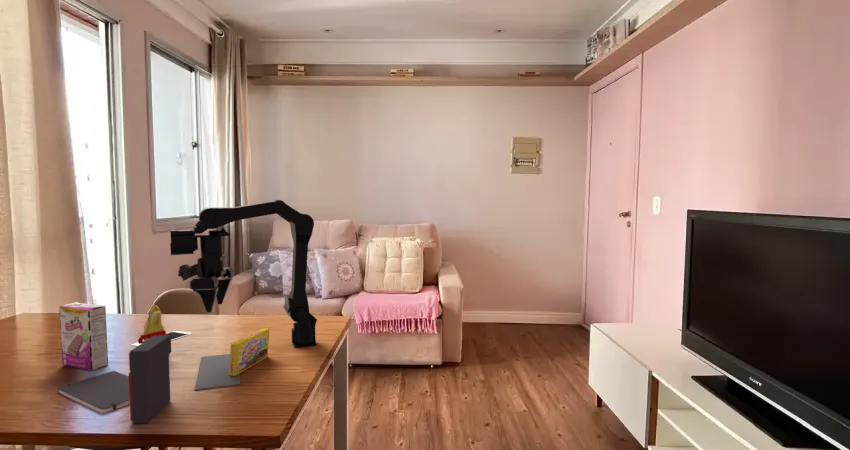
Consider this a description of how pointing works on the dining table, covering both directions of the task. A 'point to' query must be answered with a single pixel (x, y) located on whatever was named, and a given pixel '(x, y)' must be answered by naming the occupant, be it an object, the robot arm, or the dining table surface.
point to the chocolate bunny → (153, 325)
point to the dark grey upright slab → (149, 378)
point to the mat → (215, 373)
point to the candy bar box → (83, 335)
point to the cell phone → (173, 335)
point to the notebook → (100, 391)
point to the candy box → (248, 351)
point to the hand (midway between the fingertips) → (214, 308)
